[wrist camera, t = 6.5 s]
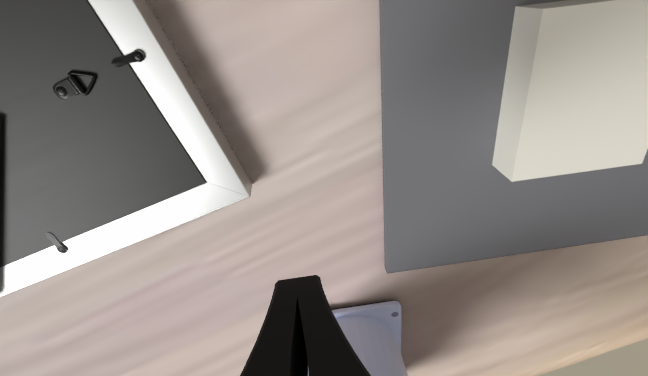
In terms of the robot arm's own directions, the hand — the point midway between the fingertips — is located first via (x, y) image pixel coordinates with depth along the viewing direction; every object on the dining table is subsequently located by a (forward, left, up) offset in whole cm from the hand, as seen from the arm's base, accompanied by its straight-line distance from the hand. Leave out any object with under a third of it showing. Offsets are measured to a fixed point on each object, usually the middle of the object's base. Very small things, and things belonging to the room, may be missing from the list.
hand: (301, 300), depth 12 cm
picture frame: (+4, +14, -10) cm, 18 cm away
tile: (+3, -11, -8) cm, 14 cm away
